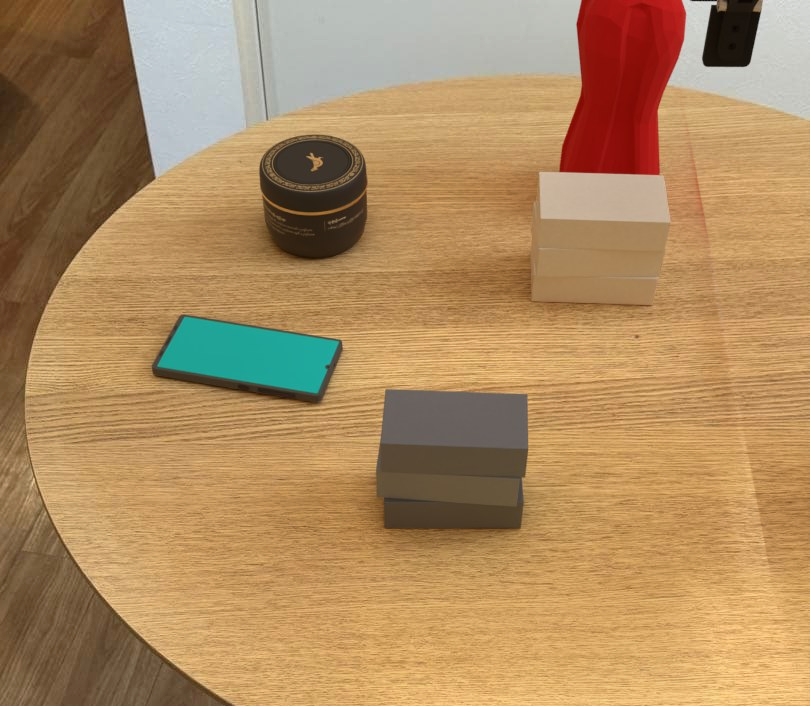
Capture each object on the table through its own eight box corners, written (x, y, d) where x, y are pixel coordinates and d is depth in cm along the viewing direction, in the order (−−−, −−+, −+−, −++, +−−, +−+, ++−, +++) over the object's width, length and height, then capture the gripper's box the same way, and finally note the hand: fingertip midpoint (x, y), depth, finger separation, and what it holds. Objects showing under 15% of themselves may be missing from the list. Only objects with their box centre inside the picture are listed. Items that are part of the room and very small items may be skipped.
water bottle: (643, 161, 119) (689, -95, 100) (656, 225, 112) (708, -38, 93) (554, 160, 119) (582, -96, 100) (561, 224, 112) (593, -39, 93)
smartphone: (180, 313, 103) (343, 339, 100) (182, 321, 103) (343, 347, 101) (149, 368, 98) (319, 397, 96) (151, 375, 99) (319, 404, 96)
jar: (333, 190, 116) (329, 120, 110) (389, 239, 111) (388, 169, 105) (247, 223, 113) (238, 153, 107) (299, 276, 107) (293, 206, 101)
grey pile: (520, 474, 91) (529, 391, 84) (520, 534, 88) (530, 451, 81) (382, 469, 92) (380, 385, 85) (377, 528, 88) (374, 445, 81)
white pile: (648, 256, 109) (659, 201, 105) (655, 307, 104) (666, 252, 100) (528, 252, 110) (533, 197, 105) (529, 303, 105) (534, 248, 100)
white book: (658, 204, 104) (663, 175, 102) (664, 251, 100) (670, 222, 98) (536, 200, 105) (539, 171, 102) (537, 247, 100) (540, 218, 98)
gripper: (860, -202, 63) (789, 93, 76) (808, -294, 74) (753, -23, 87) (722, -201, 64) (674, 92, 77) (690, -292, 75) (653, -23, 88)
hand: (716, 31), depth 82 cm, fingers open, 9 cm apart
